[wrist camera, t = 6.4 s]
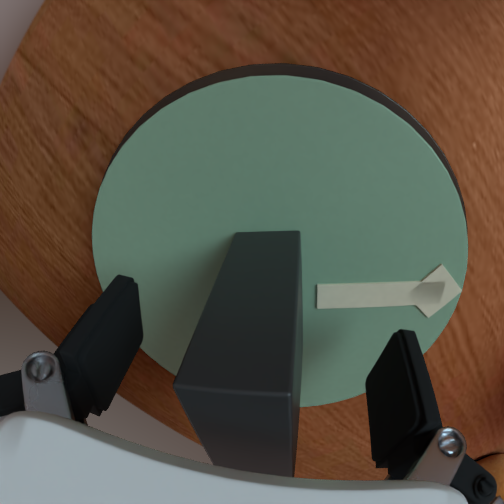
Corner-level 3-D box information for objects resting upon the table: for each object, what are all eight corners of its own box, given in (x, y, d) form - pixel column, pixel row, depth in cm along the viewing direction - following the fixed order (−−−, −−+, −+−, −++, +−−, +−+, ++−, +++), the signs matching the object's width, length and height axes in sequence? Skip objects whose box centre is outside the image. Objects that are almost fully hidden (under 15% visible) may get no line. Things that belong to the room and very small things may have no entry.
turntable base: (123, 349, 20) (115, 362, 19) (106, 56, 11) (89, 55, 10) (378, 399, 19) (380, 414, 18) (505, 136, 10) (521, 142, 9)
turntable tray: (63, 119, 11) (-85, 180, 4) (479, 86, 8) (641, 128, 1) (155, 385, 19) (114, 483, 13) (416, 391, 16) (435, 503, 10)
